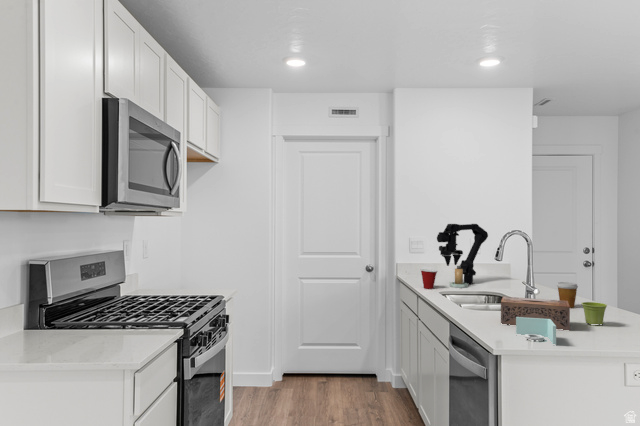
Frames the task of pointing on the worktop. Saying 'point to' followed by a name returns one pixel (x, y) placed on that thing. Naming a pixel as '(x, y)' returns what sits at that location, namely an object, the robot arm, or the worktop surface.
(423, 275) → the plastic cup
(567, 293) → the disposable coffee cup
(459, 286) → the dish
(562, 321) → the tissue box cover
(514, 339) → the worktop surface
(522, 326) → the right angle wall
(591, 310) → the plant pot
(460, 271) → the bottle
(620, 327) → the worktop surface
